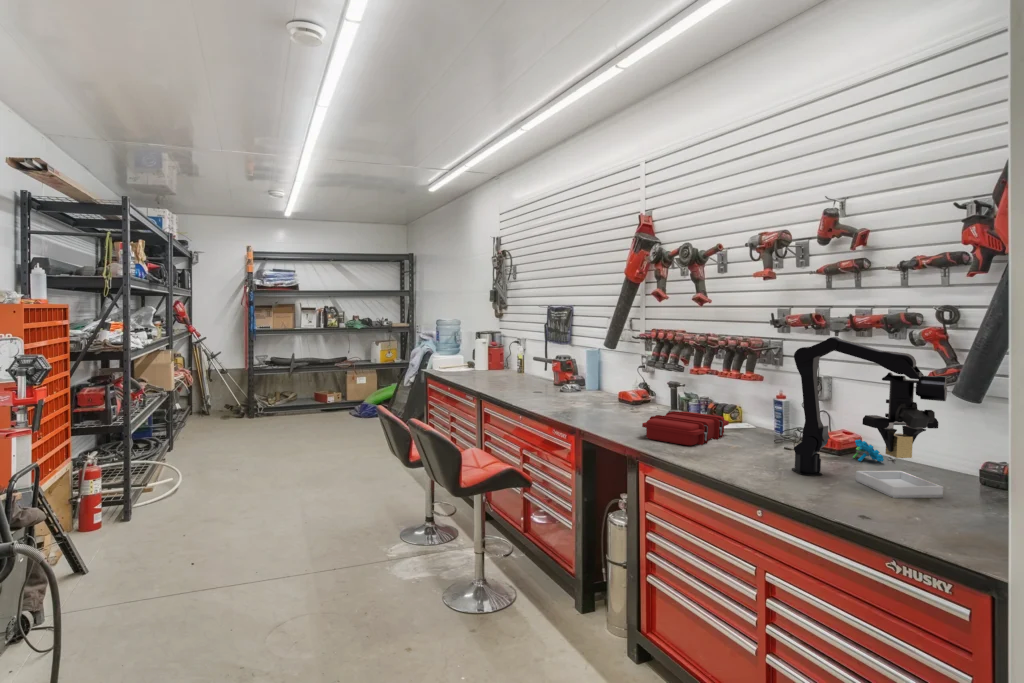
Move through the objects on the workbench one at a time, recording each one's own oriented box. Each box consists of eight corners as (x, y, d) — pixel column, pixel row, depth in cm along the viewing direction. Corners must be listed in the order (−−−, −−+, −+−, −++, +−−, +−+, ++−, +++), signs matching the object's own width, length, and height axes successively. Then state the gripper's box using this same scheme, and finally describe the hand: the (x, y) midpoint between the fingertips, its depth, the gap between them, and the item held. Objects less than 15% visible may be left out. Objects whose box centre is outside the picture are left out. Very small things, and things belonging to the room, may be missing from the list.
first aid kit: (695, 449, 214) (695, 426, 214) (639, 439, 230) (640, 417, 229) (730, 436, 237) (731, 415, 237) (677, 428, 253) (678, 408, 253)
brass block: (896, 457, 164) (897, 436, 163) (885, 453, 168) (886, 433, 168) (911, 457, 164) (912, 436, 164) (900, 453, 168) (901, 433, 168)
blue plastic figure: (891, 460, 192) (868, 438, 193) (878, 473, 192) (856, 451, 193) (871, 457, 203) (850, 436, 204) (860, 469, 203) (838, 448, 204)
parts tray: (893, 497, 158) (893, 487, 158) (855, 480, 174) (856, 471, 174) (942, 497, 159) (943, 486, 159) (900, 480, 175) (901, 470, 175)
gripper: (889, 401, 157) (886, 458, 157) (955, 402, 158) (952, 458, 158) (862, 395, 168) (860, 449, 169) (924, 396, 169) (922, 449, 169)
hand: (898, 451), depth 166 cm, fingers closed on brass block, 4 cm apart
